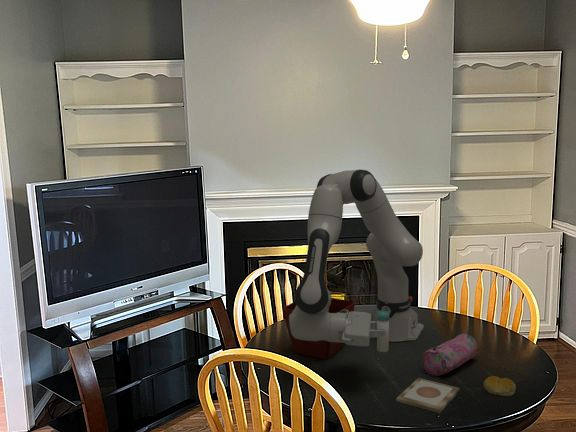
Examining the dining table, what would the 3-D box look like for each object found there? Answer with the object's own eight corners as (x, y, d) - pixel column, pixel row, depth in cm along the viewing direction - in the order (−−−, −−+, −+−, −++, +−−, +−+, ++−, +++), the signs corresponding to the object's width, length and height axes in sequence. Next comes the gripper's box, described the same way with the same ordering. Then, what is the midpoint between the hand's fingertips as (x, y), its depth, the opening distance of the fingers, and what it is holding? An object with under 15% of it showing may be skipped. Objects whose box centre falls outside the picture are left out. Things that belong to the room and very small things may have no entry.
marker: (379, 346, 190) (380, 309, 188) (391, 349, 188) (391, 311, 186) (374, 350, 187) (374, 313, 185) (385, 353, 185) (385, 315, 182)
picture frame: (418, 380, 188) (418, 376, 188) (459, 391, 181) (459, 387, 181) (396, 401, 175) (396, 397, 175) (439, 413, 168) (439, 409, 168)
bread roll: (487, 382, 187) (487, 370, 186) (517, 388, 182) (518, 376, 182) (480, 392, 180) (480, 380, 180) (511, 400, 176) (512, 387, 175)
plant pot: (356, 346, 217) (356, 301, 214) (332, 365, 200) (331, 317, 198) (309, 337, 226) (308, 293, 223) (282, 355, 210) (281, 308, 207)
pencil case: (443, 381, 188) (444, 353, 186) (419, 372, 195) (419, 345, 193) (480, 361, 202) (481, 335, 201) (456, 353, 209) (456, 328, 207)
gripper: (337, 330, 178) (385, 332, 175) (343, 307, 197) (386, 309, 195) (337, 350, 179) (385, 352, 176) (343, 326, 199) (386, 327, 196)
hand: (385, 329), depth 186 cm, fingers closed on marker, 4 cm apart
